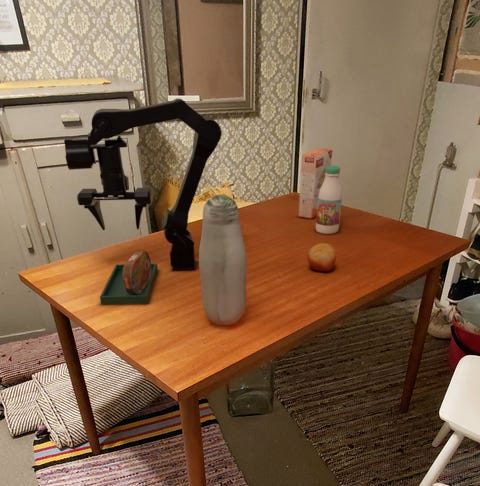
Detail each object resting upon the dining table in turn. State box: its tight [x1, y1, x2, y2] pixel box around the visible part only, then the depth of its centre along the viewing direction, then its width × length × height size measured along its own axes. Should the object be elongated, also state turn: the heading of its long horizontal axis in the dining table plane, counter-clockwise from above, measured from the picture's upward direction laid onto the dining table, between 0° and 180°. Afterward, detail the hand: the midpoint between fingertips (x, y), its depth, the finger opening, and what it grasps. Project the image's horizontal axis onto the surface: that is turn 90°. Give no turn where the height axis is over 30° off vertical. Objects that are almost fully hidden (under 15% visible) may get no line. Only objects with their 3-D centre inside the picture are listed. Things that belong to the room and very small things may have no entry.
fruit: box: [306, 242, 337, 272], centre depth 138 cm, size 8×8×8 cm
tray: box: [99, 263, 159, 306], centre depth 131 cm, size 12×21×2 cm, turn 1°
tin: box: [122, 250, 152, 295], centre depth 127 cm, size 15×3×8 cm, turn 170°
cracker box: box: [297, 147, 333, 220], centre depth 176 cm, size 14×6×21 cm, turn 149°
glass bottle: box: [198, 194, 247, 326], centre depth 107 cm, size 10×10×28 cm
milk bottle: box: [315, 165, 343, 235], centre depth 160 cm, size 8×8×20 cm
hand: (121, 229), depth 133 cm, fingers open, 9 cm apart
